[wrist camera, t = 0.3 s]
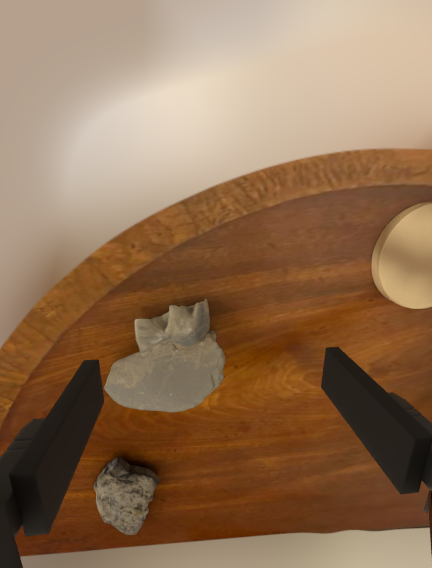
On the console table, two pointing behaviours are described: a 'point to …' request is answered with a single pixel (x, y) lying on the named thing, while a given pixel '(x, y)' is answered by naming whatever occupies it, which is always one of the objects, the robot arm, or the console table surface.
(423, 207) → the maple disc
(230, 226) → the console table surface
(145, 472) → the stone
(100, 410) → the robot arm
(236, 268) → the console table surface
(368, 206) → the console table surface
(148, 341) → the fossil
